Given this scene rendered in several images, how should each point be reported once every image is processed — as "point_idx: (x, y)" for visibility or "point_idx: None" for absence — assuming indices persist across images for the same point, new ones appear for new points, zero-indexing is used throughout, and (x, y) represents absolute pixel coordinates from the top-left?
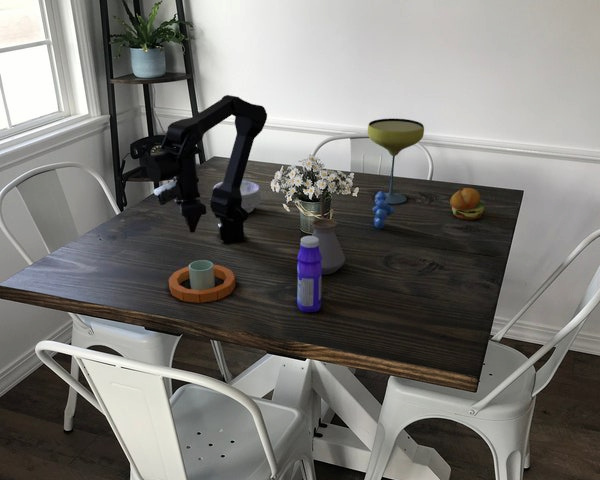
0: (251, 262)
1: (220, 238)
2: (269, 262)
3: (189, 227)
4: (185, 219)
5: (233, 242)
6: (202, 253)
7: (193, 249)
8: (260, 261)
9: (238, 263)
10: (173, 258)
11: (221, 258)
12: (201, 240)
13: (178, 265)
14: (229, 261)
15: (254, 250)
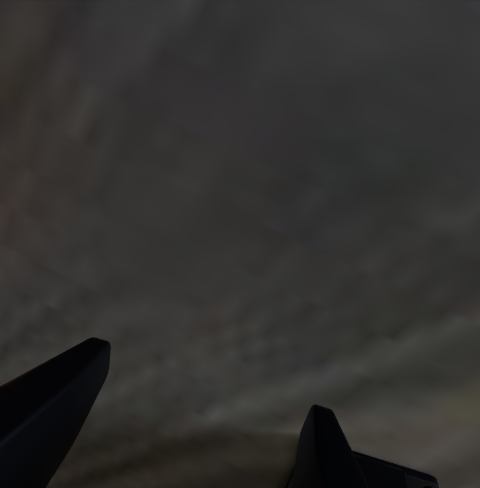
0: None
1: (359, 459)
2: None
3: (22, 378)
4: (323, 480)
5: (292, 472)
6: (262, 293)
7: (360, 279)
8: None
9: None
10: (301, 85)
11: (140, 338)
12: (462, 381)
13: (158, 68)
14: None
15: (159, 478)
